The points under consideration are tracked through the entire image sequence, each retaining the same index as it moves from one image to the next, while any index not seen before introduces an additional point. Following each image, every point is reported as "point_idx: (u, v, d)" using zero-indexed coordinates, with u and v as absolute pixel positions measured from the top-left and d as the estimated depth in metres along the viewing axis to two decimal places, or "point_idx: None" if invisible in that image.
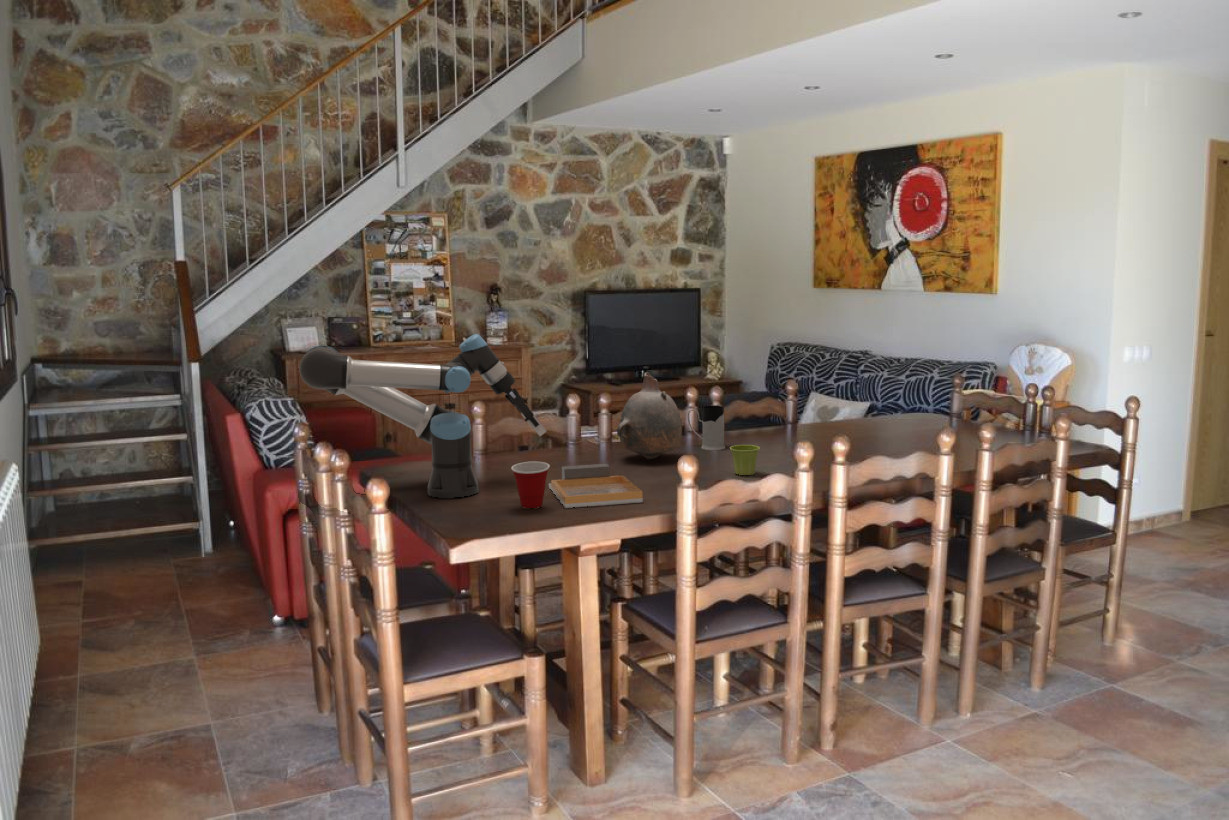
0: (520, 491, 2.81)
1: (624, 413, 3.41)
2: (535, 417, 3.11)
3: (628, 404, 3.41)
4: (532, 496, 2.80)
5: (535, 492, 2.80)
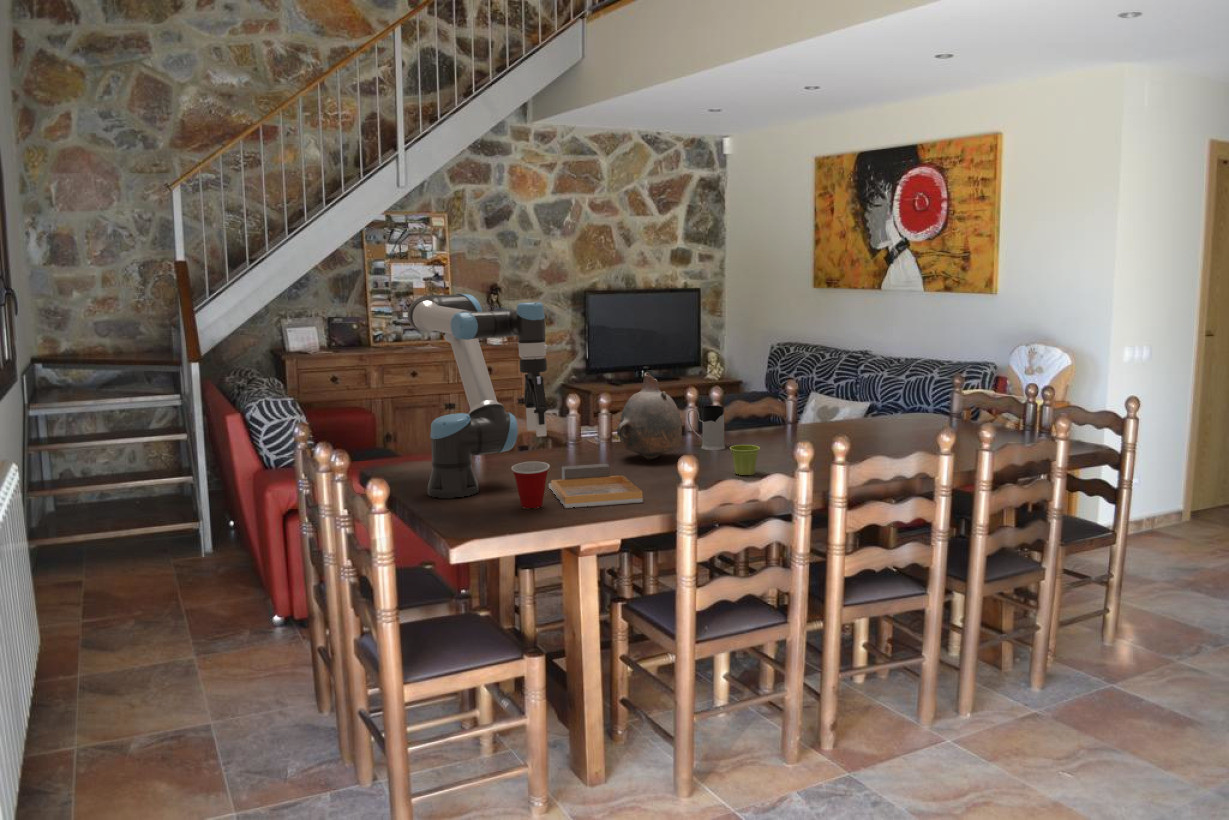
0: (520, 491, 2.81)
1: (624, 413, 3.41)
2: (545, 415, 2.76)
3: (628, 404, 3.41)
4: (532, 496, 2.80)
5: (535, 492, 2.80)
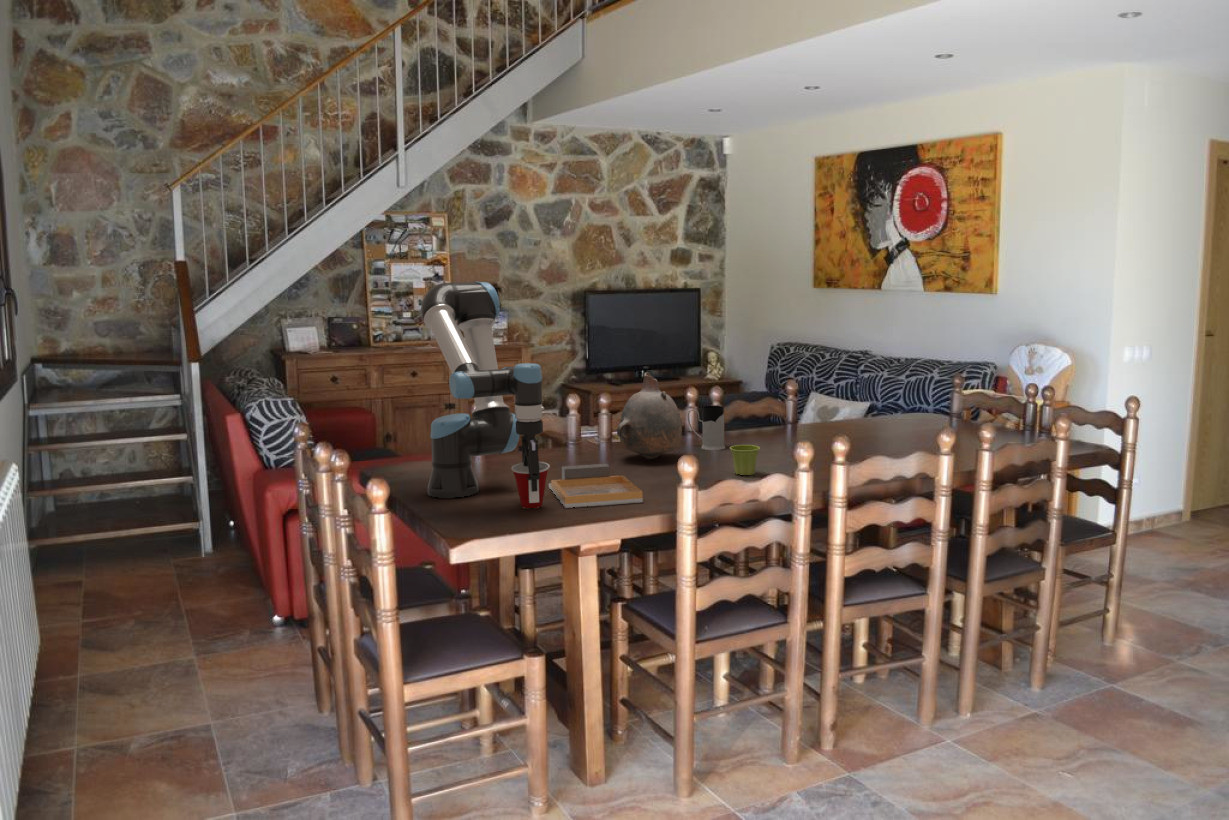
0: (520, 491, 2.81)
1: (624, 413, 3.41)
2: (538, 482, 2.78)
3: (628, 404, 3.41)
4: None
5: None
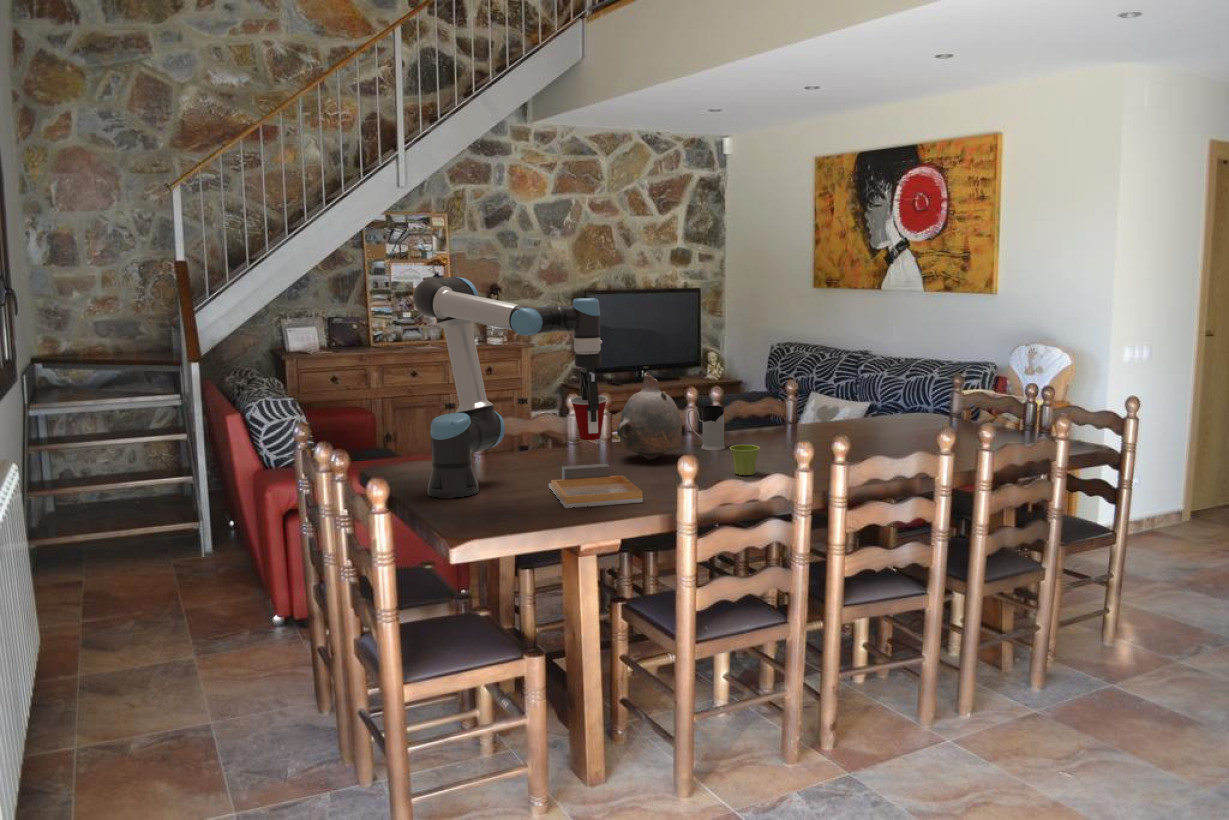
0: (579, 423, 2.88)
1: (624, 413, 3.41)
2: (597, 413, 2.85)
3: (628, 404, 3.41)
4: None
5: None
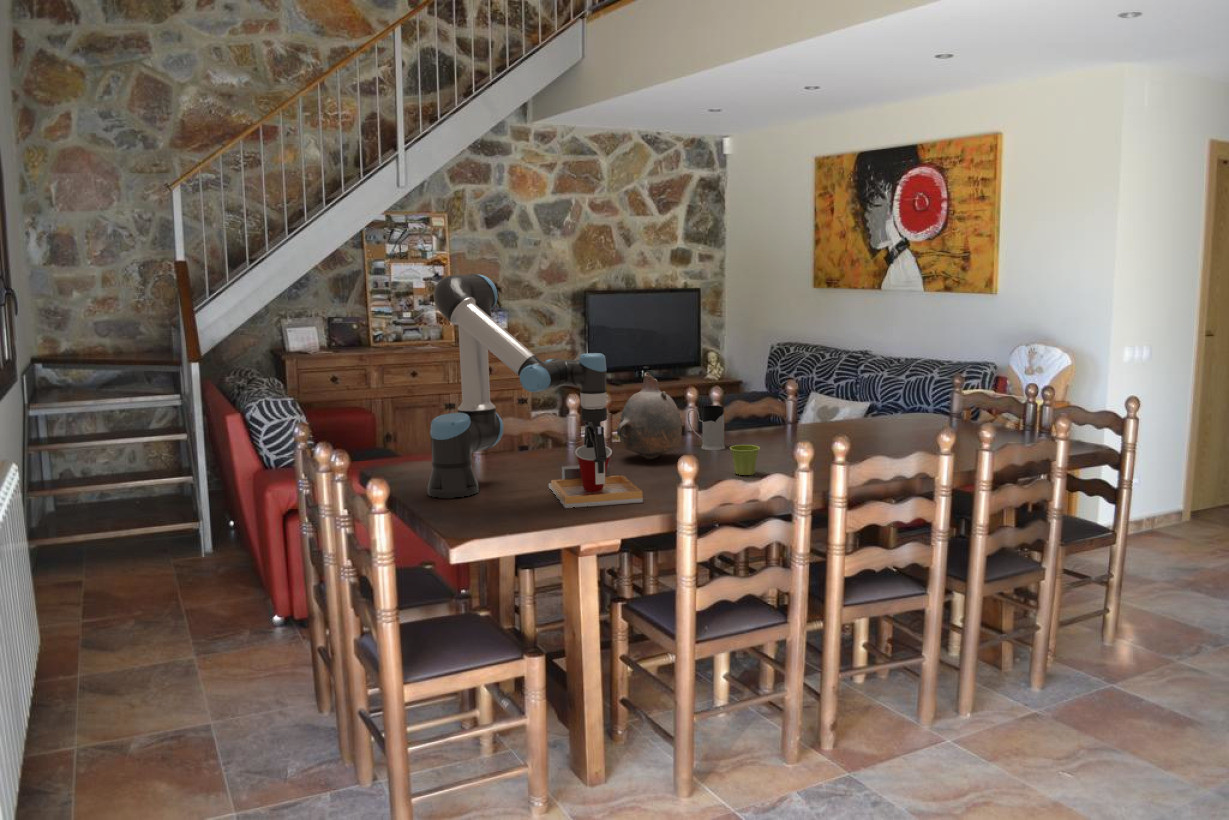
0: (583, 475, 2.94)
1: (624, 413, 3.41)
2: (604, 464, 2.87)
3: (628, 404, 3.41)
4: None
5: None
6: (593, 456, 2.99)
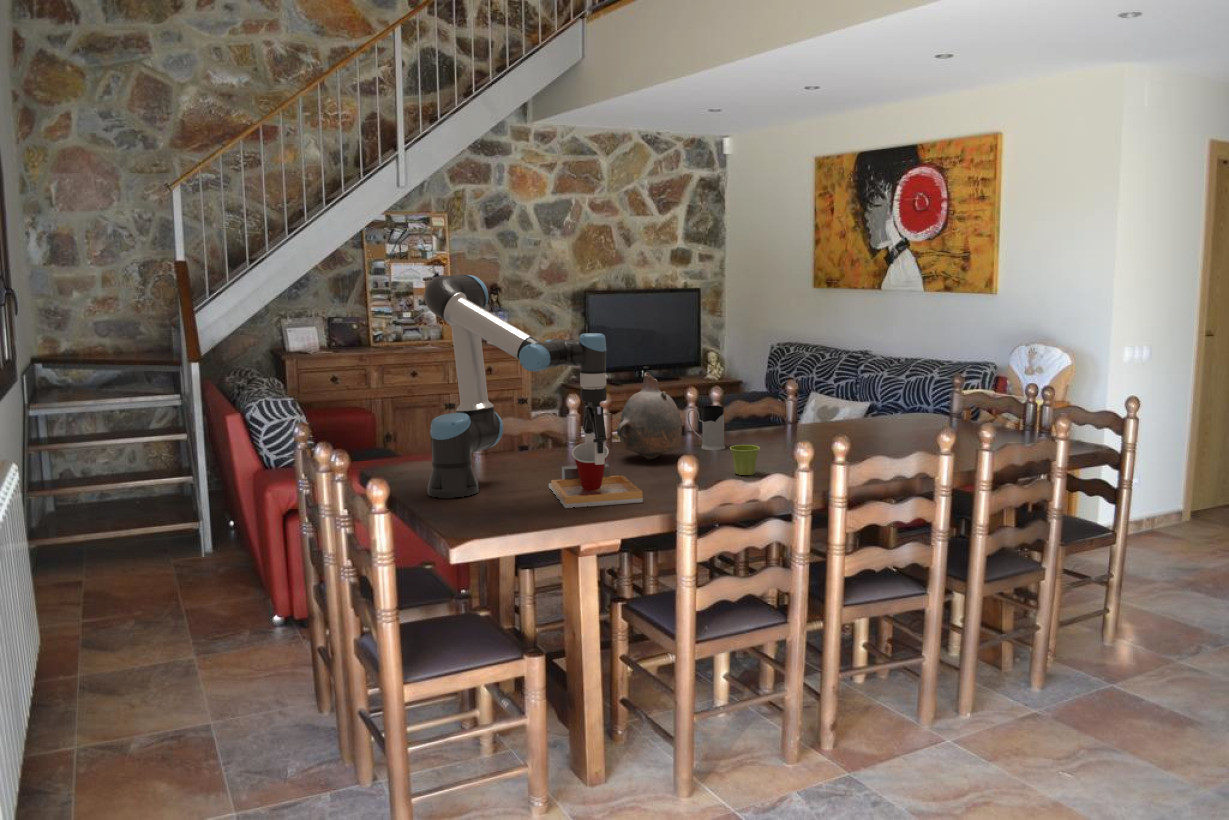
0: (581, 475, 2.95)
1: (624, 413, 3.41)
2: (603, 444, 2.86)
3: (628, 404, 3.41)
4: (593, 480, 2.94)
5: (595, 477, 2.94)
6: (590, 454, 2.99)
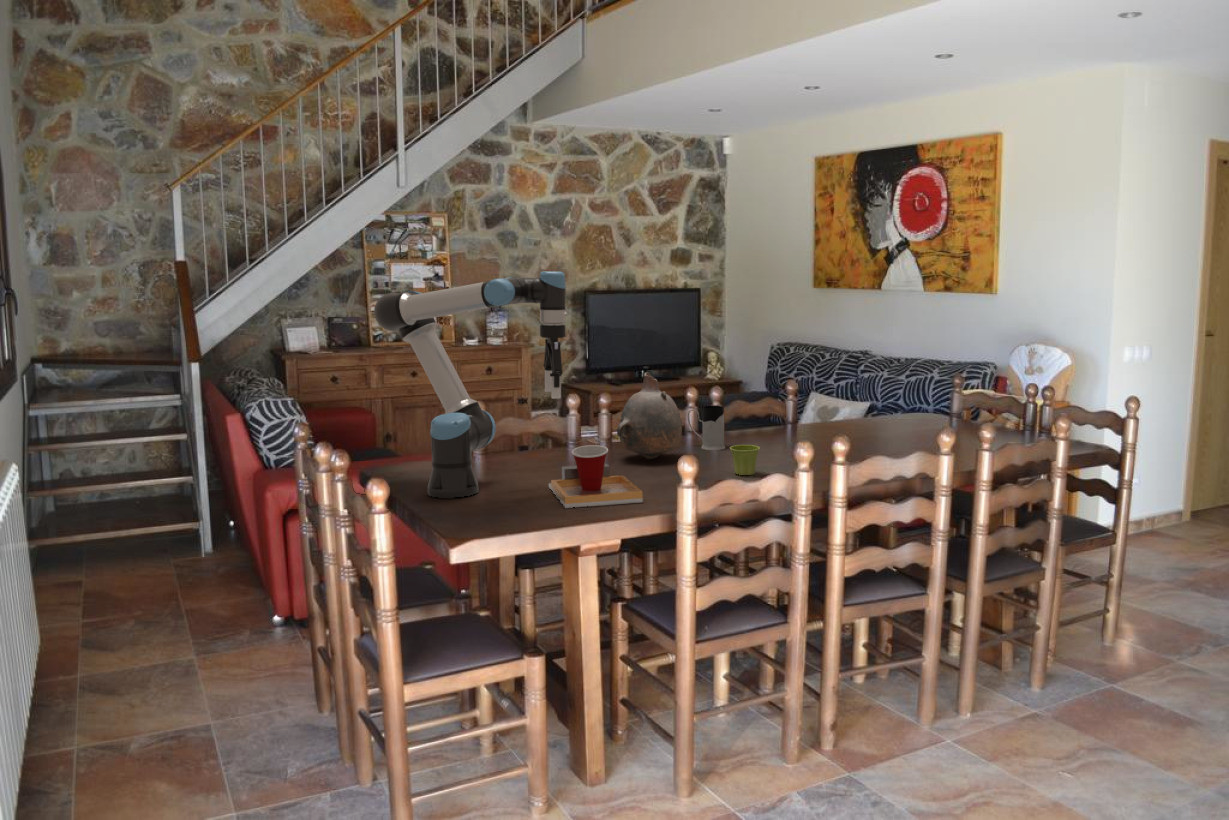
0: (580, 474, 2.96)
1: (624, 413, 3.41)
2: (560, 379, 2.94)
3: (628, 404, 3.41)
4: (592, 479, 2.95)
5: (595, 475, 2.95)
6: None
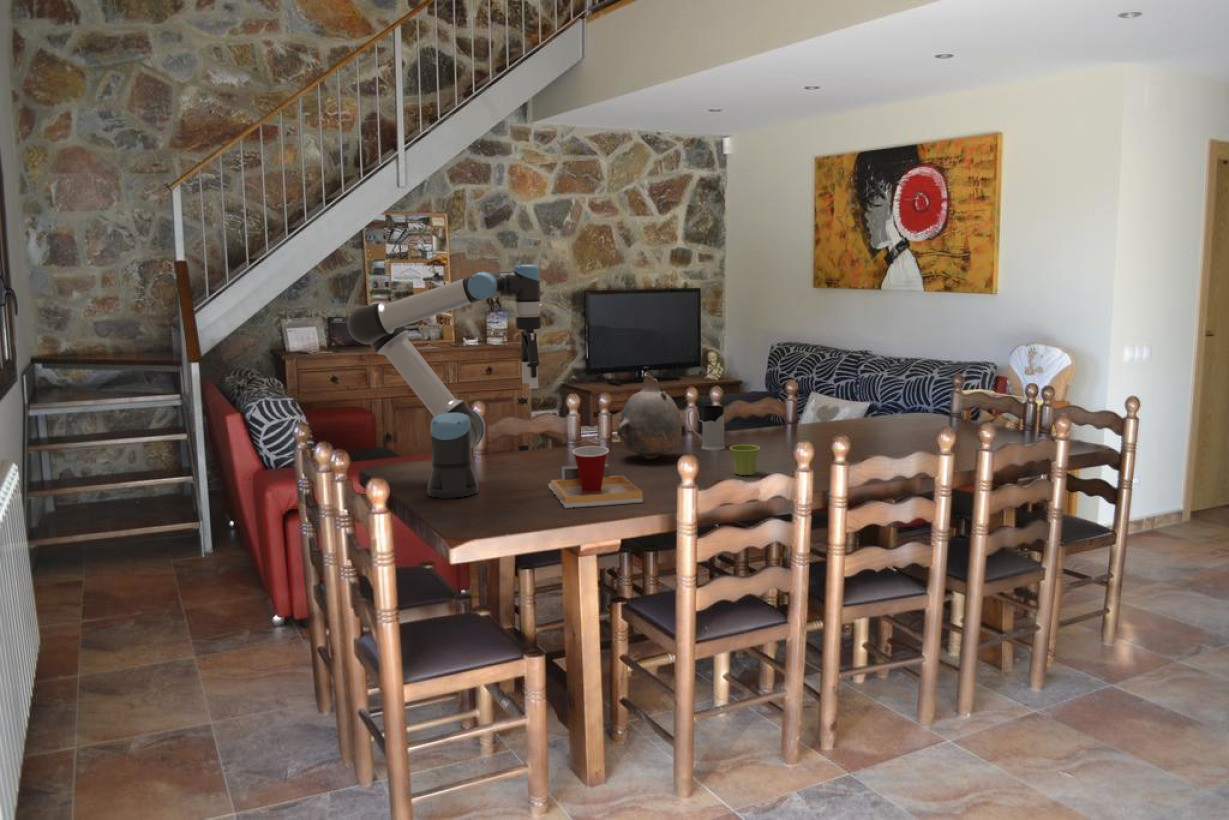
0: (581, 474, 2.96)
1: (624, 413, 3.41)
2: (537, 369, 3.01)
3: (628, 404, 3.41)
4: (593, 479, 2.95)
5: (596, 475, 2.95)
6: None
